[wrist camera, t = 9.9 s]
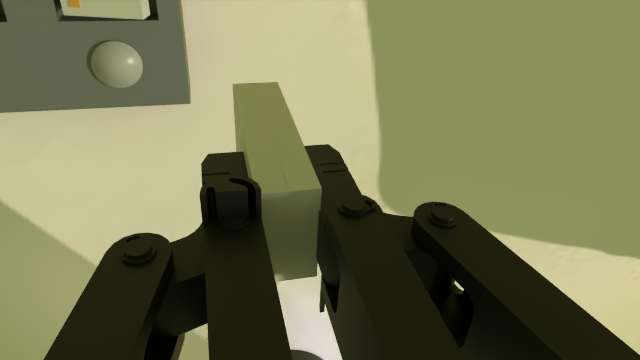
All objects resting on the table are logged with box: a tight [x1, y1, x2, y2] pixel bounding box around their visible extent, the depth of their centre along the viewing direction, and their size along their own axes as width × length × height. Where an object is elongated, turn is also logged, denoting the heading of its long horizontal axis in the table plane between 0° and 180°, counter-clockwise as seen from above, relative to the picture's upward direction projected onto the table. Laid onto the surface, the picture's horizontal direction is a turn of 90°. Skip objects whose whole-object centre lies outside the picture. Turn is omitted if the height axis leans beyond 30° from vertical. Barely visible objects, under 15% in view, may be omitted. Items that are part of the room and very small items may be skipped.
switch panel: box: [0, 0, 190, 113], centre depth 35 cm, size 12×20×4 cm, turn 87°
